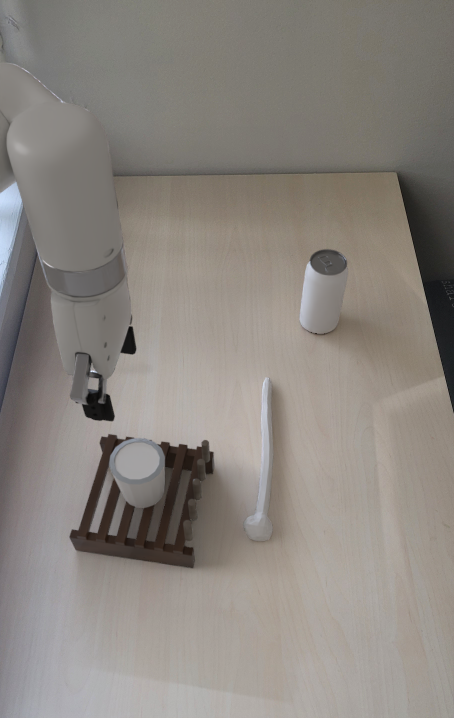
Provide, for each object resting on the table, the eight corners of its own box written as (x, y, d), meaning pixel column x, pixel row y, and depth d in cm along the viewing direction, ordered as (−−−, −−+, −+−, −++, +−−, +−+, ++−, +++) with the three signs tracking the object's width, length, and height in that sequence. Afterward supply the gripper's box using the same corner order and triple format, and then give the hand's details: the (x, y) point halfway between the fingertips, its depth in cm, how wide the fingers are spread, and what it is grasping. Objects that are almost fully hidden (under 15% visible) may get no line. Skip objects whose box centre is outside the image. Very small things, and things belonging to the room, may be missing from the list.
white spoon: (247, 380, 99) (248, 367, 97) (274, 381, 99) (275, 368, 97) (242, 542, 86) (242, 532, 83) (272, 543, 86) (273, 533, 83)
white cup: (166, 464, 86) (161, 433, 80) (172, 507, 83) (168, 479, 77) (115, 471, 86) (106, 441, 80) (119, 515, 82) (111, 488, 76)
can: (310, 340, 104) (319, 281, 93) (292, 313, 106) (299, 254, 96) (345, 328, 105) (358, 269, 94) (326, 302, 108) (336, 242, 97)
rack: (75, 550, 85) (60, 519, 78) (106, 452, 93) (95, 415, 85) (193, 568, 84) (189, 539, 76) (214, 467, 92) (213, 431, 84)
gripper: (71, 193, 62) (100, 323, 77) (11, 324, 53) (57, 440, 68) (147, 203, 61) (161, 331, 76) (98, 336, 53) (125, 451, 68)
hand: (112, 383), depth 72 cm, fingers open, 9 cm apart
